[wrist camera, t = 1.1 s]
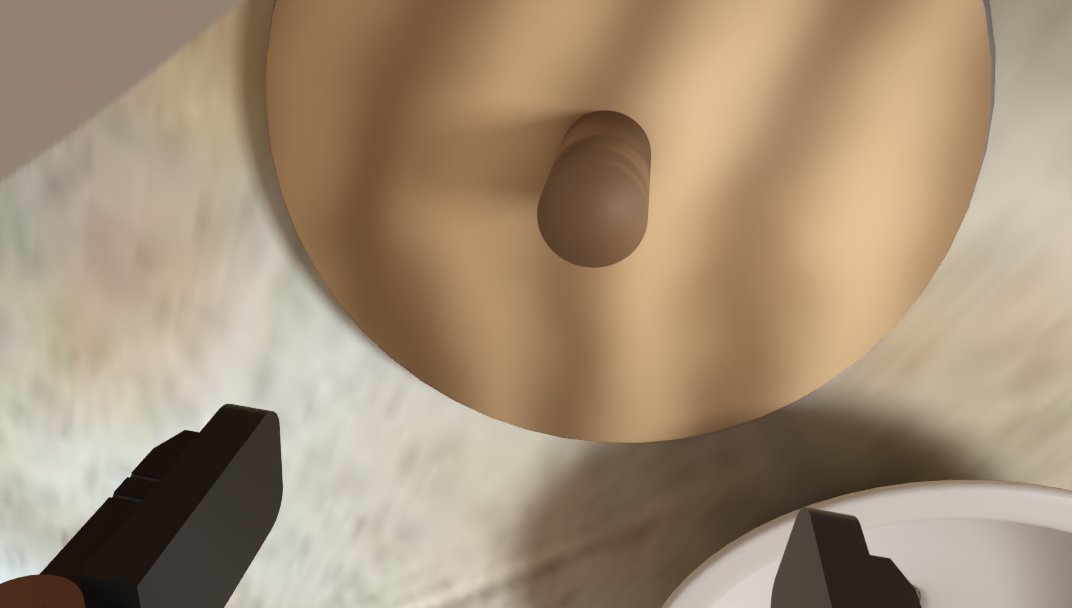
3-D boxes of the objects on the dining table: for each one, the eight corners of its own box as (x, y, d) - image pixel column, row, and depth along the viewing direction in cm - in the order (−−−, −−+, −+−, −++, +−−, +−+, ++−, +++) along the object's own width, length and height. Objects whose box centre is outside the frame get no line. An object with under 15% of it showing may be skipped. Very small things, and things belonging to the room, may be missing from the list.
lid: (1113, -222, 23) (1286, -262, 16) (854, 470, 34) (897, 602, 28) (260, -310, 25) (120, -377, 18) (292, 374, 36) (213, 477, 30)
